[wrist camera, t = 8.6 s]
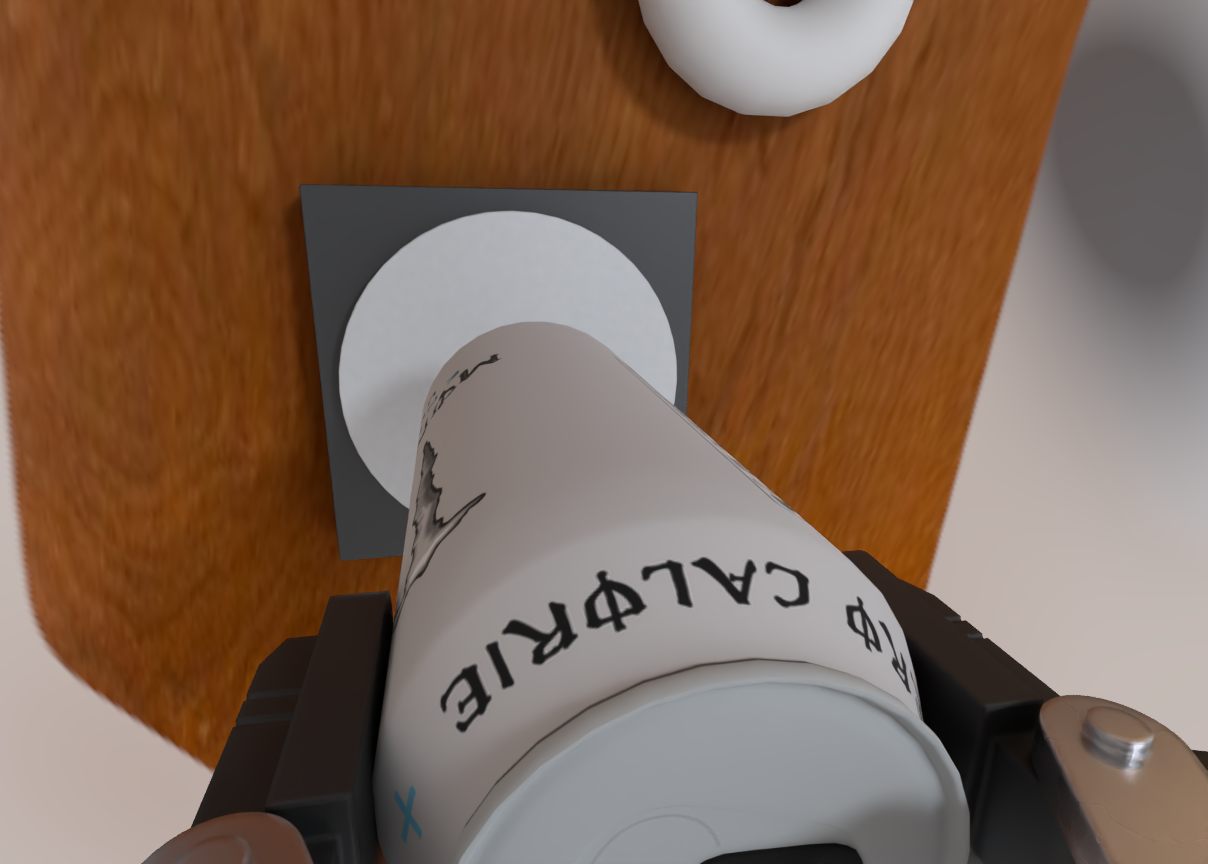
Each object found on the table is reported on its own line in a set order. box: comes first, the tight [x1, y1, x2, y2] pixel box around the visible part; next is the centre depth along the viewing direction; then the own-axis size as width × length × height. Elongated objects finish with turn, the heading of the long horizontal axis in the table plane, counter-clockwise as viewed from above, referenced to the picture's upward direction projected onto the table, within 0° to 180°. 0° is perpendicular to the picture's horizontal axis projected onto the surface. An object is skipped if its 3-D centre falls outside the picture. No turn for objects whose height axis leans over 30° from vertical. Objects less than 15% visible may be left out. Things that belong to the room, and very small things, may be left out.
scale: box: [299, 184, 697, 561], centre depth 26 cm, size 13×13×3 cm
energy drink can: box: [372, 321, 970, 864], centre depth 13 cm, size 6×6×15 cm
